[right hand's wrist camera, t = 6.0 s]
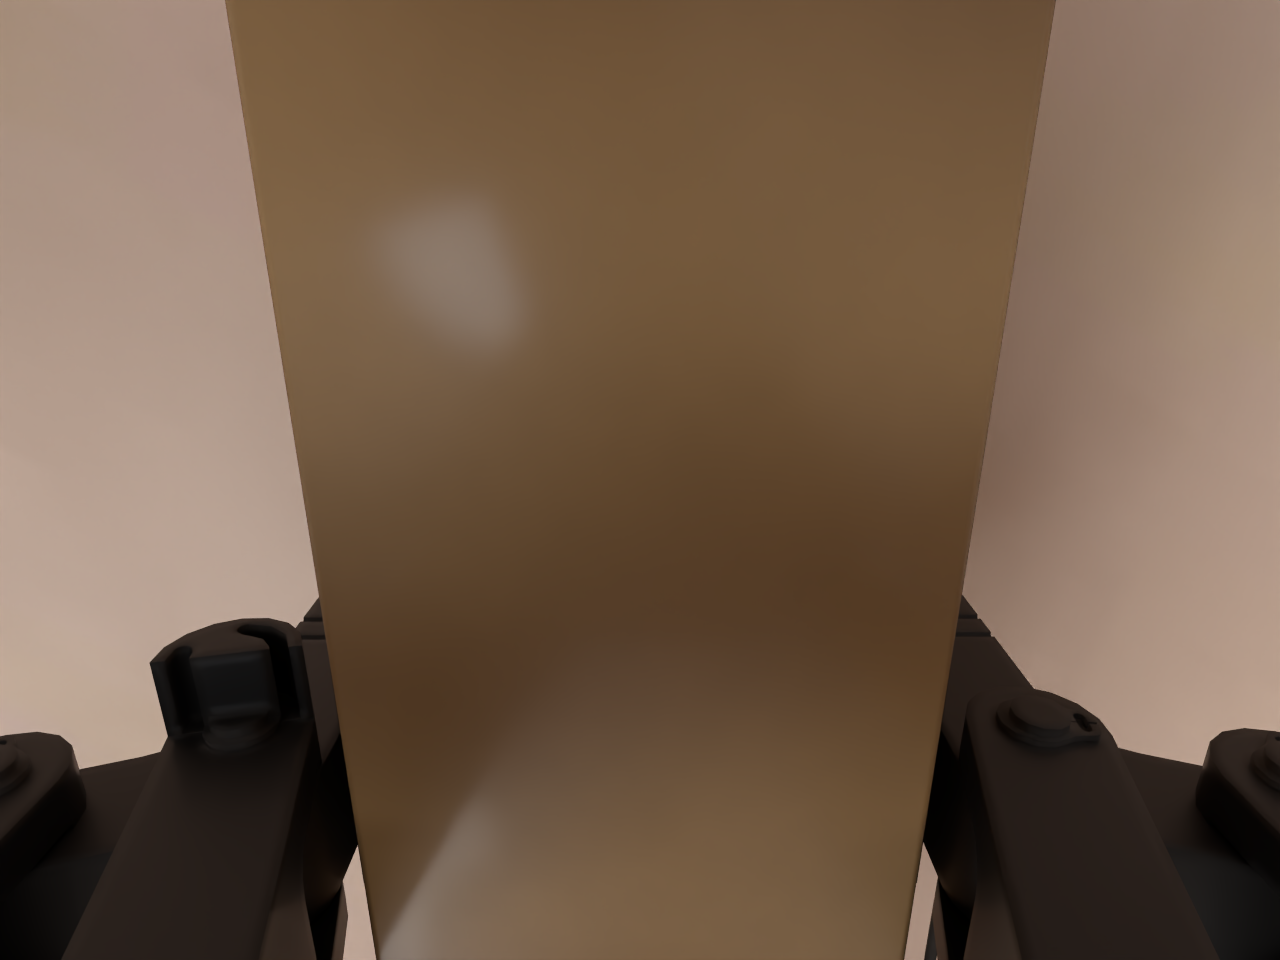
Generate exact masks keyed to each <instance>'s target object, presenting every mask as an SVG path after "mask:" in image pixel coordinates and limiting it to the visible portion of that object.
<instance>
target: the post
mask: <svg viewBox="0 0 1280 960" xmlns="http://www.w3.org/2000/svg"><path fill="white" fill-rule="evenodd" d="M1055 2H1056V0H225V3H226V9H227V15H228V22H229V28H230V34H231V41H232V47H233V53H234V60H235V66H236V72H237V79H238V85H239V91H240V98H241V104H242V110H243V117H244V123H245V129H246V136H247V142H248V149H249V155H250V161H251V168H252V174H253V180H254V187H255V193H256V199H257V206H258V212H259V218H260V225H261V231H262V237H263V244H264V250H265V256H266V263H267V269H268V275H269V282H270V288H271V294H272V301H273V307H274V313H275V320H276V326H277V332H278V339H279V345H280V351H281V358H282V364H283V370H284V377H285V383H286V389H287V396H288V402H289V408H290V415H291V421H292V427H293V434H294V440H295V447H296V453H297V459H298V466H299V472H300V478H301V485H302V491H303V497H304V504H305V510H306V516H307V523H308V529H309V535H310V542H311V548H312V554H313V561H314V567H315V573H316V580H317V586H318V592H319V599H320V605H321V611H322V618H323V624H324V630H325V637H326V643H327V649H328V656H329V662H330V668H331V675H332V681H333V687H334V694H335V700H336V706H337V713H338V719H339V726H340V732H341V738H342V745H343V751H344V757H345V764H346V770H347V776H348V783H349V789H350V795H351V802H352V808H353V814H354V821H355V827H356V833H357V840H358V846H359V852H360V859H361V865H362V871H363V878H364V884H365V890H366V897H367V903H368V909H369V916H370V922H371V928H372V935H373V941H374V947H375V954H376V960H904V956H905V950H906V944H907V937H908V931H909V925H910V918H911V912H912V906H913V899H914V893H915V887H916V880H917V874H918V868H919V861H920V855H921V849H922V842H923V836H924V830H925V824H926V817H927V811H928V805H929V798H930V792H931V786H932V779H933V773H934V767H935V760H936V754H937V748H938V741H939V735H940V729H941V722H942V716H943V710H944V703H945V697H946V691H947V684H948V678H949V672H950V665H951V659H952V653H953V647H954V640H955V634H956V628H957V621H958V615H959V609H960V602H961V596H962V590H963V583H964V577H965V571H966V564H967V558H968V552H969V545H970V539H971V533H972V526H973V520H974V514H975V507H976V501H977V495H978V488H979V482H980V476H981V470H982V463H983V457H984V451H985V444H986V438H987V432H988V425H989V419H990V413H991V406H992V400H993V394H994V387H995V381H996V375H997V368H998V362H999V356H1000V349H1001V343H1002V337H1003V330H1004V324H1005V318H1006V312H1007V305H1008V299H1009V293H1010V286H1011V280H1012V274H1013V267H1014V261H1015V255H1016V248H1017V242H1018V236H1019V229H1020V223H1021V217H1022V210H1023V204H1024V198H1025V191H1026V185H1027V179H1028V172H1029V166H1030V160H1031V153H1032V147H1033V141H1034V135H1035V128H1036V122H1037V116H1038V109H1039V103H1040V97H1041V90H1042V84H1043V78H1044V71H1045V65H1046V59H1047V52H1048V46H1049V40H1050V33H1051V27H1052V21H1053V14H1054V8H1055Z"/></svg>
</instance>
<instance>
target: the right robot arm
mask: <svg viewBox="0 0 1280 960" xmlns="http://www.w3.org/2000/svg"><path fill="white" fill-rule="evenodd" d="M150 666H151V670H152V674H153V678H154V682H155V686H156V690H157V694H158V698H159V703H160V707H161V711H162V715H163V719H164V723H165V727H166V731H167V735H168V738H167V740H166V742H165V744H164V746H163V748H162V750H161V752H158V753H155V754H151V755H147V756H143V757H139V758H134V759H129V760H124V761H119V762H114V763H109V764H104V765H99V766H94V767H89V768H85V769H80V770H79V768H78V764H77V761H76V758H75V754H74V751H73V748H72V745H71V744H69V743H68V742H67V741H66V740H65V739H63V738H62V737H61V736H60V735H54V734H47V733H41V732H31V733H22V734H12V735H5V736H0V960H343V953H344V945H345V936H346V928H347V920H348V912H347V905H346V898H345V892H344V886H343V879H344V876H345V874H346V871H347V869H348V867H349V864H350V862H351V860H352V857H353V855H354V852H355V850H356V848H357V845H358V840H357V833H356V827H355V821H354V814H353V808H352V802H351V795H350V789H349V783H348V776H347V770H346V764H345V757H344V751H343V745H342V738H341V732H340V726H339V719H338V713H337V706H336V700H335V694H334V687H333V681H332V675H331V668H330V662H329V656H328V649H327V643H326V637H325V630H324V624H323V618H322V611H321V605H320V599H319V598H318V599H317V600H316V602H315V603H314V604H313V606H312V607H311V608H310V610H309V611H308V612H307V614H306V615H305V616H304V621H303V622H300V623H299V624H298V626H297V627H296V628H294V627H293V626H292V625H291V624H289V623H287V622H282V621H278V620H274V619H270V618H251V619H238V620H233V621H228V622H222V623H217V624H213V625H210V626H208V627H205V628H202V629H199V630H197V631H194V632H191V633H188V634H186V635H184V636H183V637H181V638H179V639H178V640H176V641H174V642H173V643H171V644H169V645H167V646H166V647H164V648H163V649H162V650H161V651H160V652H159V653H158V654H157V655H156V657H155V658H154V659H153V660H152V661H151V662H150ZM923 842H924V844H925V847H926V849H927V852H928V854H929V856H930V859H931V861H932V863H933V866H934V868H935V871H936V873H937V875H938V880H937V886H936V892H935V898H934V903H933V909H932V915H931V921H930V927H929V933H928V939H927V945H926V950H925V958H924V960H936V958H937V959H938V960H1280V732H1276V731H1266V730H1257V729H1247V728H1243V729H1236V730H1230V731H1224V732H1221V733H1220V734H1219V735H1218V736H1216V737H1215V738H1214V739H1213V740H1212V741H1210V743H1209V747H1208V750H1207V753H1206V757H1205V760H1204V763H1203V766H1200V765H1195V764H1190V763H1185V762H1180V761H1175V760H1170V759H1165V758H1160V757H1155V756H1150V755H1145V754H1140V753H1136V752H1132V751H1128V750H1125V749H1121V748H1118V747H1117V745H1116V742H1115V740H1114V738H1113V736H1112V735H1111V733H1110V732H1109V731H1108V730H1107V728H1106V727H1105V726H1104V725H1103V723H1102V722H1101V721H1100V720H1099V718H1097V717H1096V716H1094V715H1093V714H1091V713H1090V712H1088V711H1087V710H1086V709H1084V708H1083V707H1081V706H1080V705H1078V704H1077V703H1074V702H1072V701H1070V700H1067V699H1065V698H1062V697H1060V696H1058V695H1055V694H1053V693H1050V692H1046V691H1041V690H1037V689H1033V687H1032V686H1031V685H1030V683H1029V682H1028V681H1027V679H1026V678H1025V677H1024V675H1023V674H1022V673H1021V671H1020V670H1019V669H1018V667H1017V666H1016V665H1015V664H1014V662H1013V661H1012V660H1011V658H1010V657H1009V656H1008V654H1007V653H1006V652H1005V650H1004V649H1003V648H1002V646H1001V645H1000V644H999V642H998V641H997V640H996V639H995V637H991V632H990V631H989V629H988V628H987V627H986V625H985V624H984V623H983V621H982V620H981V619H978V618H977V614H976V612H975V611H974V610H973V608H972V607H971V606H970V604H969V603H968V602H967V600H966V599H965V598H964V596H963V595H962V596H961V602H960V609H959V615H958V621H957V628H956V634H955V640H954V647H953V653H952V659H951V665H950V672H949V678H948V684H947V691H946V697H945V703H944V710H943V716H942V722H941V729H940V735H939V741H938V748H937V754H936V760H935V767H934V773H933V779H932V786H931V792H930V798H929V805H928V811H927V817H926V824H925V830H924V836H923ZM923 842H922V846H923ZM358 848H359V846H358ZM921 852H922V849H921ZM359 855H360V852H359ZM920 858H921V855H920ZM360 861H361V859H360ZM919 865H920V861H919ZM361 867H362V865H361ZM918 871H919V868H918ZM362 874H363V871H362ZM917 877H918V874H917ZM363 880H364V878H363ZM916 883H917V880H916Z"/></svg>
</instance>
